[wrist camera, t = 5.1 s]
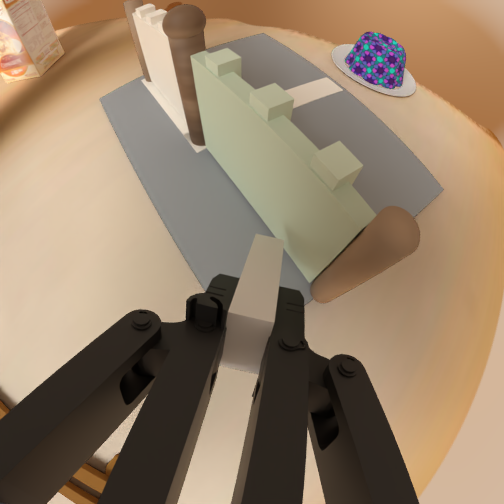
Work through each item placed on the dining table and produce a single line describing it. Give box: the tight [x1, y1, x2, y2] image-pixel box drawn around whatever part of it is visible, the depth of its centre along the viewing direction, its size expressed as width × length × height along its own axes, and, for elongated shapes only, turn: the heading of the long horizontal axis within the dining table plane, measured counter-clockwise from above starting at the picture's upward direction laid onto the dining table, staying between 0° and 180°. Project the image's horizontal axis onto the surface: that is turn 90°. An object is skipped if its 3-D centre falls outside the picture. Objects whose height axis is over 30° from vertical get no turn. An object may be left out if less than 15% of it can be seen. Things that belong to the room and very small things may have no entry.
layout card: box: [100, 33, 444, 305], centre depth 24 cm, size 30×23×1 cm
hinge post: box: [162, 4, 206, 146], centre depth 17 cm, size 3×3×13 cm
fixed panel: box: [123, 0, 187, 123], centre depth 20 cm, size 12×2×11 cm, turn 34°
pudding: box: [331, 32, 416, 97], centre depth 26 cm, size 12×12×5 cm
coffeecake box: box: [0, 0, 65, 83], centre depth 21 cm, size 15×7×20 cm, turn 71°
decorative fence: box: [0, 401, 119, 504], centre depth 14 cm, size 25×2×10 cm
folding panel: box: [190, 48, 420, 303], centre depth 15 cm, size 15×2×10 cm, turn 34°
